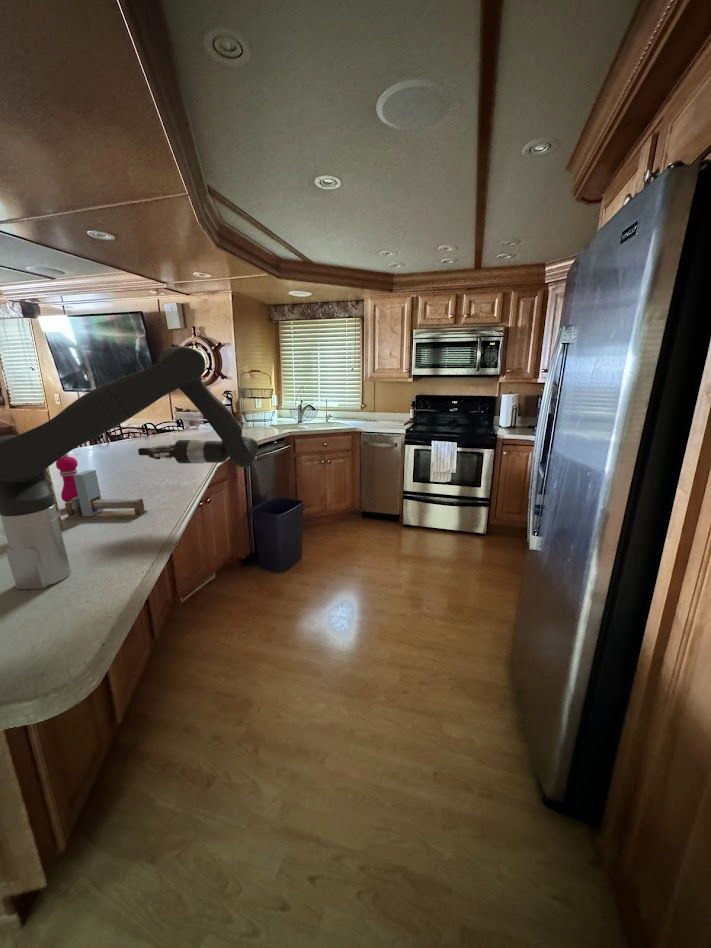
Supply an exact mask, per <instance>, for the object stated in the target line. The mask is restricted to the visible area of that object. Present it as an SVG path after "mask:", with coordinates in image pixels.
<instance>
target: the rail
mask: <svg viewBox="0 0 711 948" xmlns="http://www.w3.org/2000/svg"><path fill="white" fill-rule="evenodd" d="M90 502H91V506H92V510H95V509H104V510H103V511H101V512H99V513H97V514H95V515H93V516H83V515H82V511H81V506H80V502H79V498H78V496H77V497H75V498H73V499H72V500H71V501H68V502H65V503H64V505H65V504H66V507H65V509H66V508H67V509H66V512H67V516H65V517H64V518H65V519H64V520H99V519H100V520H102V519H103V520H105V519H107V520H109V519H111V518H118V519H139V518H140V517H142V516H143V515H144V514H146V513H148V510H147V509H145V506H144V499H143V498H127V499H126V498H122V499H121V498H120V499H119V498H118V499H113V498H111V499H102V500H98V499H92V500H90ZM110 509H117V510H110ZM118 509H122V510H118ZM123 509H134V510H123ZM141 515H142V516H141ZM138 517H139V518H138Z"/></svg>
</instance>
